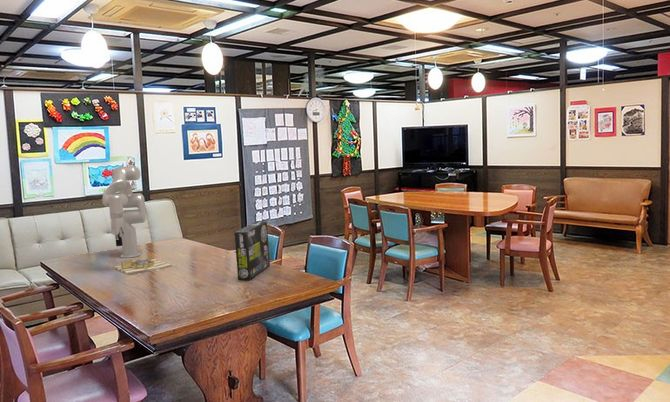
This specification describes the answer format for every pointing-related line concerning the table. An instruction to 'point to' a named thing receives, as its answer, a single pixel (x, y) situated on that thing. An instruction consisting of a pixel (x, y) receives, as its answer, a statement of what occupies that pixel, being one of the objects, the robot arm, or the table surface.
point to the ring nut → (135, 264)
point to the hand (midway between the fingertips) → (119, 245)
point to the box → (252, 250)
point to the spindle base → (131, 271)
